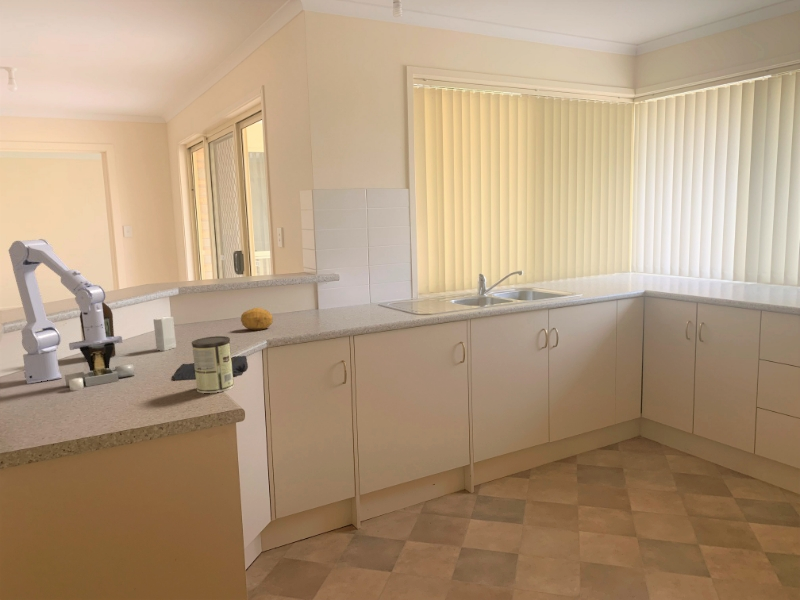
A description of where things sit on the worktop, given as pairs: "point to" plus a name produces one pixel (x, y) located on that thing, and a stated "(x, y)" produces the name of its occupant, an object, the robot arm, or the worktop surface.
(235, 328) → the worktop surface
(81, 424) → the worktop surface
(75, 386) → the pipe cap
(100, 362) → the gold metal cylinder
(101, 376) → the fitting socket
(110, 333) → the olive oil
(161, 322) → the skincare box
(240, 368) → the dark slate chunk
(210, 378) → the coffee can
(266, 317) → the potato
